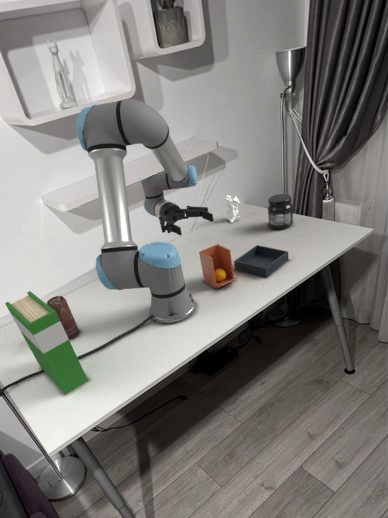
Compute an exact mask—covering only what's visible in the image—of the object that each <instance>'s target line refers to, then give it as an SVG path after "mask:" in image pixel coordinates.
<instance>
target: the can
mask: <svg viewBox="0 0 388 518" xmlns="http://www.w3.org/2000/svg"><path fill="white" fill-rule="evenodd" d="M46 304H47V305H48V306H50V307H51V308H52V309H53V310H55V311H56V313H57V315H58V317H59V320H60V322H61V324H62V326H63V328H64V330H65V332H66V334H67V337H68V339H69V341H72V340H75V339H76V338H78V336H79V335H80V328H79V326H78V324H77V322H76V320H75V317H74V315H73V312H72V310H71V309H70V306H69V304H68V301H67V299H66V298H65V297H64V296H63V295H56V296H54V297H53V296H52V297H51V298H49V299H48V300H47V302H46Z"/></svg>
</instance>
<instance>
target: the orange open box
mask: <svg viewBox="0 0 388 518" xmlns="http://www.w3.org/2000/svg"><path fill="white" fill-rule="evenodd" d="M198 254H199V259H200V264H201V270H202V275H203V281H204V283H205V284H207V285H209V286H211V288H214V289H216V290H218V289H219V288H222V287H223V286H226V285H228V284H230V283H231V282H234V281H235V280H237V279H239V276H236V277H235V275H234V268H233V259H232V252H231V249H229V248H227V247H225V246H224V245H221V244H220V243H217V244H214V245H211V246H210V247H207V248H205V249H202V250H200V251H199V253H198ZM219 268H220V269H223V270H224V271H225V272H226V278H225V279H224V280H223V281H216V277H215V270H216V269H219Z"/></svg>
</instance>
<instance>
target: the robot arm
mask: <svg viewBox="0 0 388 518" xmlns="http://www.w3.org/2000/svg"><path fill="white" fill-rule="evenodd" d="M76 134H77V138H78V140H79V144H80V147H81V148H82V149H83V150H84V151H85V152H87V156H88V157H89V158H90V160H92V161H93V163H94V171H95V177H96V178H95V179H96V185H97V193H98V200H99V207H100V209H99V210H100V217H101V223H102V231H103V232H102V233H103V239H104V243H103V244H102V246H101V247H100V254H98V255H97V256H96V259H95V261H96V262H95V271H96V275H97V278H98V279H99V281H100V283H101V284H102V285H103V287H105V288H106V289H107V290H111V291H113V290H114V291H115V290H117V291H122V290H132V289H133V290H134V289H144V288H145V289H147V288H148V289H149V292H150V297H151V298H150V309H149V311H150V316H148V317H147V318H145V319H144V320H142V322H141V323H139V324H137V325H136V326H134V327H133V328H130V329H129V330H126V331H125V332H122V333H121V334H119V335H117V336H116V337H114V338H111V339H110V340H109V341H107V342H106V343H103V344H102V345H100V346H98V347H96V348H94V349H92V350H90V351H87V352H85V353H83V354H80V355H78V356H77V358H78V360H80V359H83V358H86V357H87V356H90V355H92V354H94V353H97V352H98V351H100V350H102V349H104V348H106V347H107V346H109V345H111V344H113V343H115V342H117V341H118V340H120V339H122V338H123V337H125V336H127V335H129V334H131V333H133V332H135V331H136V330H138V329H140V328H141V327H143V326H144V325H145V324H146V323H148V322H149V321H151V320H154V321H155V322H157V323H159V324H164V325H165V324H167V325H168V324H176V323H179V322H182V321H184V320H187V319H188V318H189V317H191V316H192V315H193V314H194V313H195V311H196V302H195V299H194V298H193V297H194V296H193V295H192V294H191V292H190V291H189V290H188V288H187V286H186V281H185V277H184V272H183V268H182V261H181V260H182V259H181V257H180V254H179V251H178V249H177V247H176V246H174V245H173V243H170V242H167V241H152V242H150V243H146V244H144V245H142V246H141V247H140V248H139V247H138V246H139V245H138V244H137V243H135V242H134V241H133V236H132V229H131V219H130V211H129V210H130V209H129V203H128V194H127V186H126V177H125V176H126V175H125V167H124V159H125V157H126V156H127V155H128V151H127V150H128V149H127V146H133V145H143V146H144V147H145V148H146V149H148V150H150V151H151V153H152V154H153V155H154V157H155V158H156V160H157V161H158V163H159V164H160V165H161V168H163V169H164V171H162V172H159V173H157V174H155V175H152V176H150V177H148V178H146V179H143V180H141V179H140V183H141V186H142V190H143V191H142V192H143V194H144V200H143V208H144V210H145V212H147V213H148V214H149V215H151V216H154V217H156V218H157V219H158V221H159V225H160V229H161V232H162V233H167V234H171V233H174V234H177V235H178V236H182V235H183V233H182V229H181V227H180V226H179V225H176V223H177V222H179V221H182V220H187V219H188V220H189V218H201V219H203V220H206V221H209V222H210V223H213V222H214V215H213V213H211V212H209V207H208V206H191V205H186V208H181V207H180V206H179V205H178V204H176V203H174V202H171V201H170V200H166V199H165V196H164V191H171V190H178V189H186V188H188V189H189V188H191V187H196V186H197V184H198V171H197V167H196V166H195V165H193V164H192V165H189V164H188V165H187V164H186V162H185V161H184V159H183V157H182V155H181V153H180V151H179V150H178V148H177V146H176V144H175V142H174V141H173V139H172V137H171V135H170V127H169V125H168V123H167V121H166V120H165V118H164V117H163V115H161V113H160V112H158V111H157V110H156V109H155V108H154V107H153V106H151V105H149V104H147V103H145V102H144V101H141V100H138V99H134V98H126V99H122V100H115V101H111V102H105V103H100V104H92V105H91V106H87V107H84V108H82V109H81V110H80V112H79V113H78V115H77V119H76ZM41 374H45V372H44V370H42V369H41V370H38V371H36V372H33V373H29V374H28V375H25V376H23V377H21V378H19V379H16V380H15V381H13V382H11V383H9V384H7V385H5V386H3V388H1V390H0V398H1V397H2V396H3V394H4V393H5V391H7V390H8V389H9V388H12V387H14V386H16V385H18V384H20V383H21V382H24V381H27V380H28V379H30V378H34V377H36V376H38V375H41ZM46 482H47V484H48V485H49V487H50V488H53V485H51V483H50V482H49V481H48V480H47V479H46Z"/></svg>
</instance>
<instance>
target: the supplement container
mask: <svg viewBox="0 0 388 518" xmlns="http://www.w3.org/2000/svg"><path fill="white" fill-rule="evenodd" d="M267 203H268V206H267V217H268V218H267V220H268V226H269V228H270V229H272V230H275V231H276V230H278V231H279V230H280V231H281V230H286V229H288V228H290V227H291V226H292V225H293V224H294V211H293V210H294V209H293V208H294V204H293V202H292V195H290V194H288V193H279V194H274V195H271V196H270V197H269V198H268V199H267Z"/></svg>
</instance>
